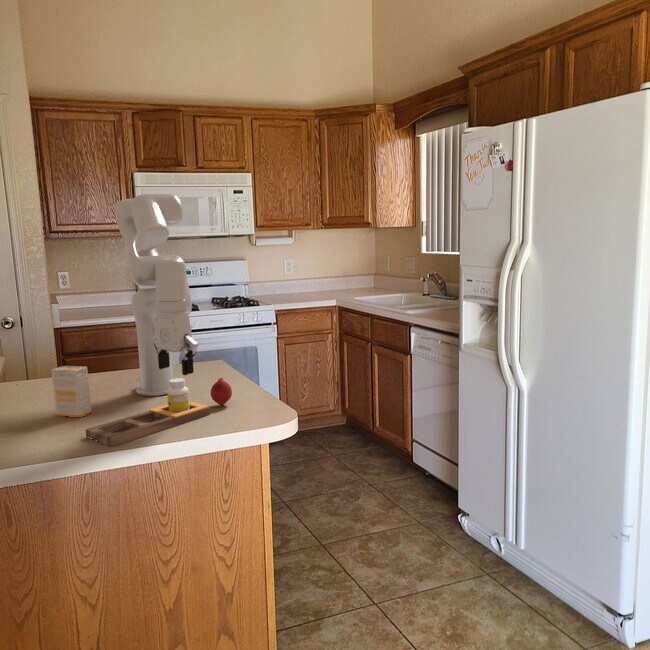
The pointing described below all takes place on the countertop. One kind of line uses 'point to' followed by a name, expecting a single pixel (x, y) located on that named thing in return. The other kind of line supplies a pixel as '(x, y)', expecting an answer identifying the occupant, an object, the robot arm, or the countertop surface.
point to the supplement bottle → (178, 396)
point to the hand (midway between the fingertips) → (176, 370)
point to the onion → (221, 392)
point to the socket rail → (139, 428)
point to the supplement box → (71, 391)
